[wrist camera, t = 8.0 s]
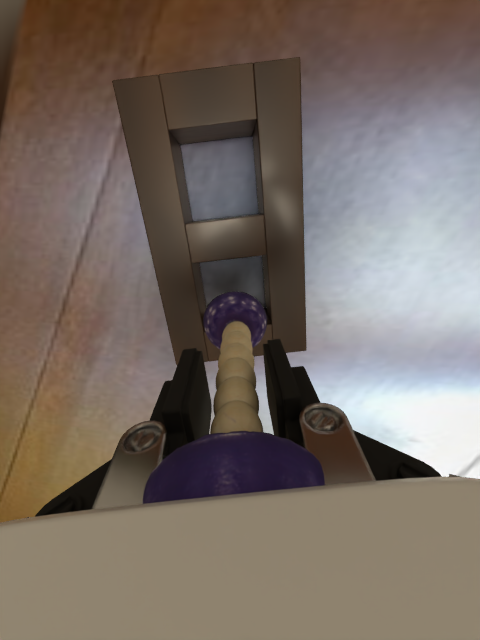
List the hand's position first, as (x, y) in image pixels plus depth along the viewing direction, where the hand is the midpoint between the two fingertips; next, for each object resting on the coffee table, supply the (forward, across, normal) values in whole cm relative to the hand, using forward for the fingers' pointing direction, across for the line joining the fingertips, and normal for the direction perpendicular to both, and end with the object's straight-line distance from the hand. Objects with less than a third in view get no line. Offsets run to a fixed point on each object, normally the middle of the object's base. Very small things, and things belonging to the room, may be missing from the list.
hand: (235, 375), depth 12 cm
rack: (+17, 0, -4) cm, 17 cm away
